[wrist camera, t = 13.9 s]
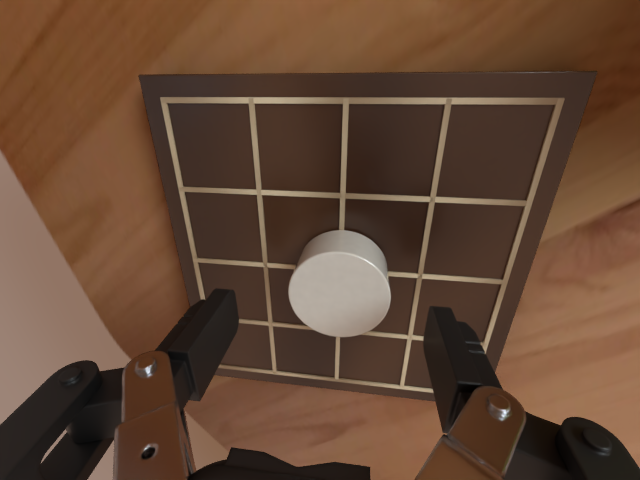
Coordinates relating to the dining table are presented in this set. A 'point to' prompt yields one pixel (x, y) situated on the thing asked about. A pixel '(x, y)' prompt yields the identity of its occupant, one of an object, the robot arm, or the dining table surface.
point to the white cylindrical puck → (340, 284)
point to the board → (362, 203)
